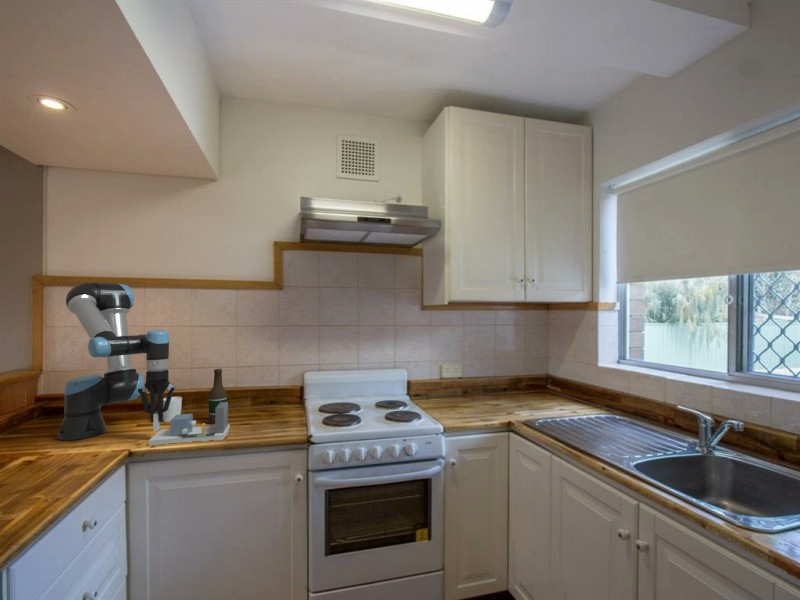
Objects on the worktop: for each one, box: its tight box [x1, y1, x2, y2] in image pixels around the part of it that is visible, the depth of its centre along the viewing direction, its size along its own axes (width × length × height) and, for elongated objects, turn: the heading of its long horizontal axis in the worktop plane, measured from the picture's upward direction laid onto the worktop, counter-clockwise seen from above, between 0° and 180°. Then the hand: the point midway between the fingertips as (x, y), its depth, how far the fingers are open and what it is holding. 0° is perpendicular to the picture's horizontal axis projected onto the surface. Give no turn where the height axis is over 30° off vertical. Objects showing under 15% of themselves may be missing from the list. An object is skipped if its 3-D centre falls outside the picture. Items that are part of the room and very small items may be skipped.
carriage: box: [169, 413, 197, 436], centre depth 152 cm, size 8×11×6 cm
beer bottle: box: [208, 368, 228, 425], centre depth 174 cm, size 8×8×24 cm
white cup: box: [162, 396, 183, 423], centre depth 177 cm, size 8×8×10 cm
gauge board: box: [148, 401, 231, 446], centre depth 154 cm, size 26×14×12 cm, turn 105°
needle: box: [201, 422, 206, 434], centre depth 150 cm, size 1×2×4 cm, turn 15°
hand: (156, 429), depth 150 cm, fingers closed
